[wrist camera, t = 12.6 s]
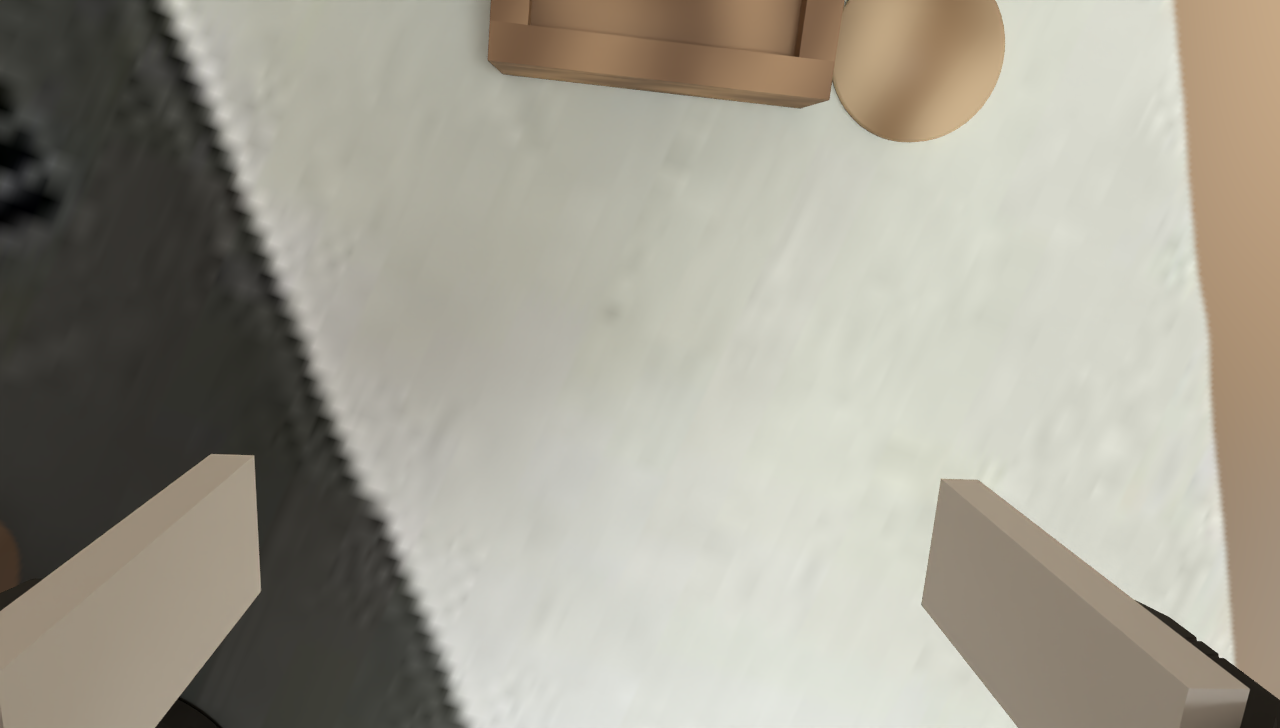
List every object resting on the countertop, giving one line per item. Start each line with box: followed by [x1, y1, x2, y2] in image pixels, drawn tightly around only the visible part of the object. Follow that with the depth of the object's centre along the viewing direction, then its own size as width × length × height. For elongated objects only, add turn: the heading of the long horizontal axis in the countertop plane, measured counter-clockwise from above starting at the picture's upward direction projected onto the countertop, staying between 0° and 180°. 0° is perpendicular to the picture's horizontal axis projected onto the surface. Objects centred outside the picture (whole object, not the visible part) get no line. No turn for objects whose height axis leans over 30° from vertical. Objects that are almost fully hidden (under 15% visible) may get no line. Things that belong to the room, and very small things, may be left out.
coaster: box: [832, 0, 1005, 142], centre depth 37 cm, size 8×8×1 cm
